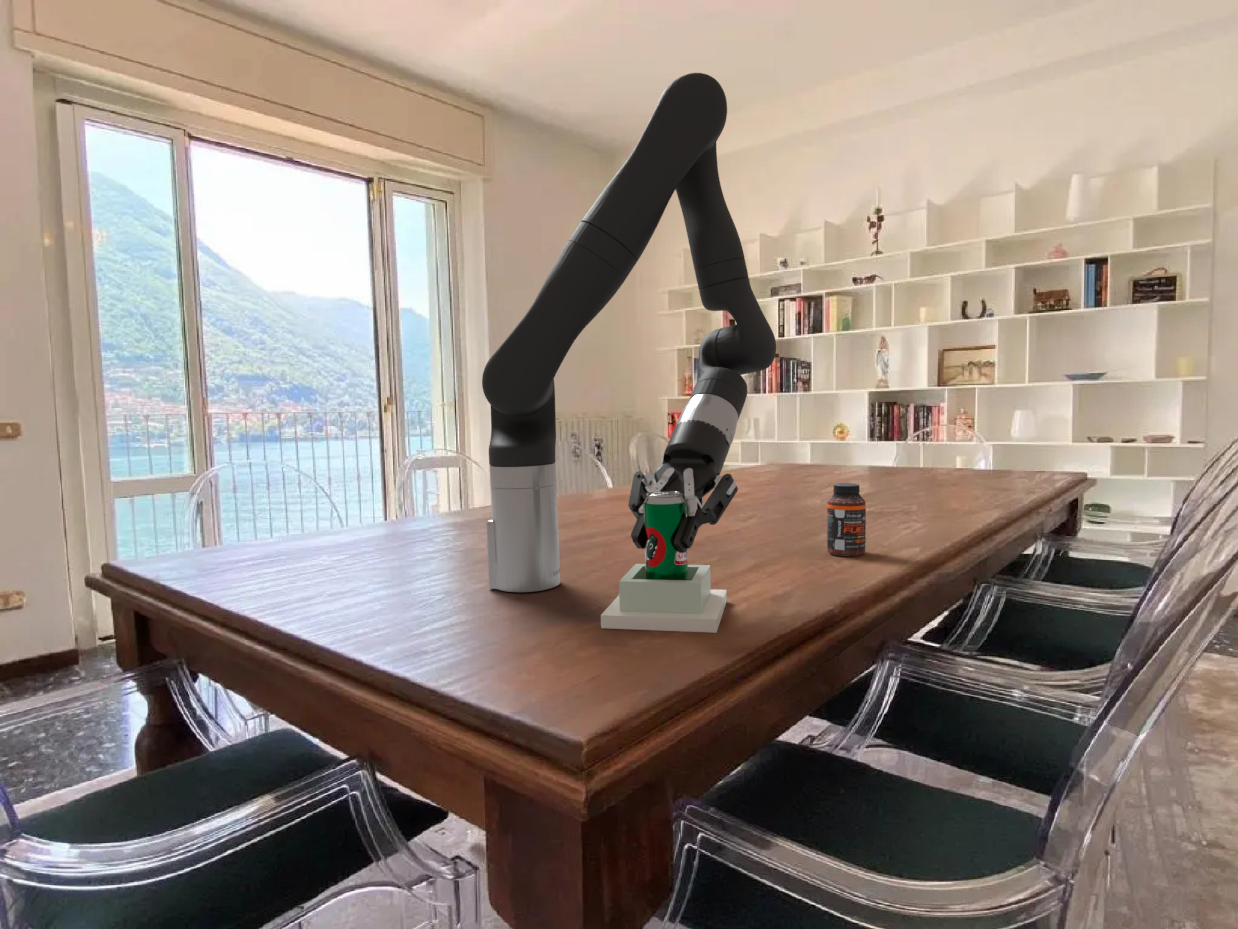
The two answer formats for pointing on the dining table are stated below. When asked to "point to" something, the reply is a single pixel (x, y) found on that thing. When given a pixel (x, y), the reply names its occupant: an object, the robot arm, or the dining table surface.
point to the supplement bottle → (846, 521)
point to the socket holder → (666, 603)
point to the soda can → (664, 536)
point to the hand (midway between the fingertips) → (658, 546)
